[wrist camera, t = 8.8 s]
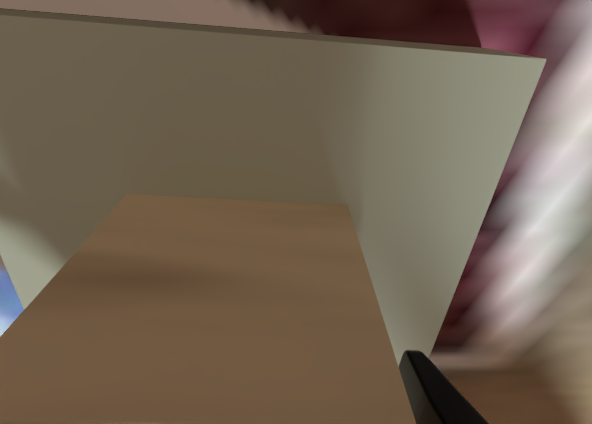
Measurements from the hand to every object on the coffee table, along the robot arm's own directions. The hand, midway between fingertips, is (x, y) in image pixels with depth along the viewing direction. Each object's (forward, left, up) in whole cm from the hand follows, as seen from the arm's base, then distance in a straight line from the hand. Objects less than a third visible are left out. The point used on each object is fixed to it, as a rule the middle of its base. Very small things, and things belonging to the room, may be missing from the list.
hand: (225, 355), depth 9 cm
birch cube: (0, 0, -3) cm, 3 cm away
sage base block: (0, 0, -6) cm, 6 cm away
